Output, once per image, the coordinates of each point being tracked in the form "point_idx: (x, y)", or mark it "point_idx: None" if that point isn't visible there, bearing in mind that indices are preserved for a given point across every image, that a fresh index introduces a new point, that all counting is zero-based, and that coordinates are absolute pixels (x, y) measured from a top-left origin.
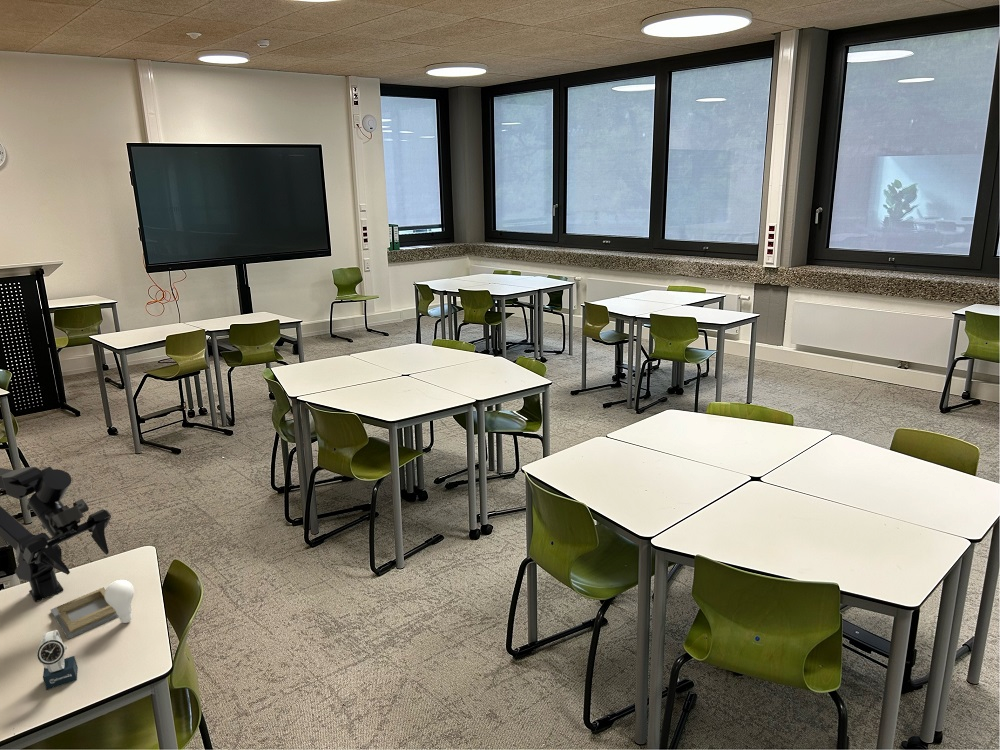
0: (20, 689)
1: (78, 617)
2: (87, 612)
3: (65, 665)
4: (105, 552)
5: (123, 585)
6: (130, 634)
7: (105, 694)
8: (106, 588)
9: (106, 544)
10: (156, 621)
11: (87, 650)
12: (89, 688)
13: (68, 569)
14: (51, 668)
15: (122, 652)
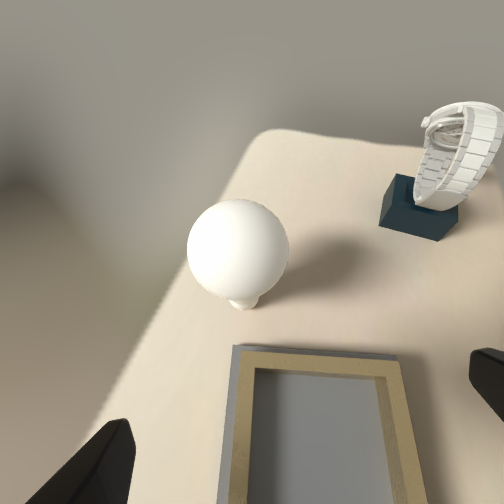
0: (494, 247)
1: (352, 450)
2: (319, 455)
3: (409, 199)
4: (127, 453)
5: (222, 203)
6: None
7: (346, 140)
8: (273, 246)
9: (34, 495)
10: None
11: (352, 265)
12: (366, 164)
13: (495, 360)
14: (446, 151)
15: (294, 206)
